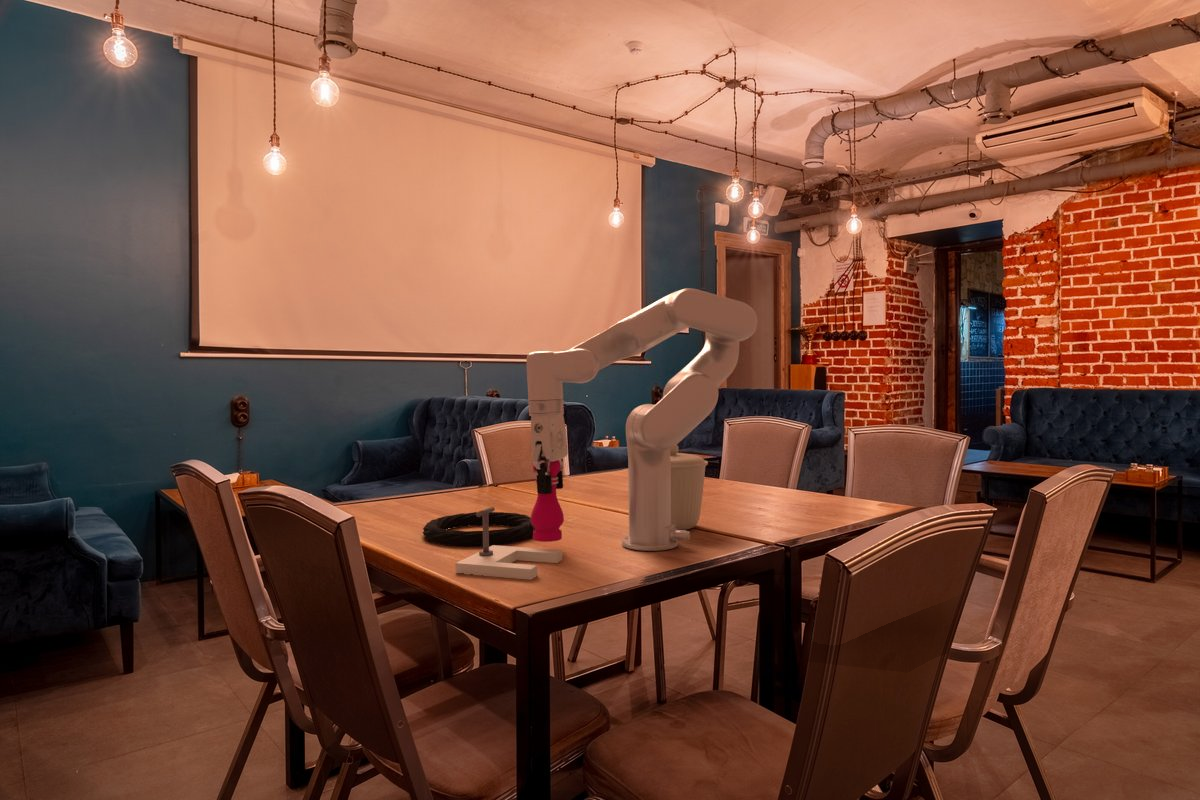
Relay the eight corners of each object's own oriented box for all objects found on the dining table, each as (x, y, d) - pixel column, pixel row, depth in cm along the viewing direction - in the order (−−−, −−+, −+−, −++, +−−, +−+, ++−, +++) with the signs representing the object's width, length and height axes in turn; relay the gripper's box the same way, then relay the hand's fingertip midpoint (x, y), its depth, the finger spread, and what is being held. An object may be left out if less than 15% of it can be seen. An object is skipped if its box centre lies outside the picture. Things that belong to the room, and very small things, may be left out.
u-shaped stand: (562, 559, 158) (561, 505, 158) (530, 579, 143) (530, 520, 143) (493, 554, 163) (492, 502, 163) (455, 573, 148) (454, 515, 148)
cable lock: (437, 510, 198) (552, 509, 197) (437, 525, 198) (552, 524, 197) (408, 532, 170) (542, 531, 170) (408, 549, 171) (542, 548, 170)
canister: (674, 517, 203) (673, 438, 202) (723, 528, 189) (723, 443, 188) (621, 525, 192) (620, 442, 192) (668, 538, 178) (668, 448, 177)
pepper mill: (527, 537, 168) (526, 446, 168) (559, 534, 170) (558, 445, 170) (534, 543, 161) (533, 449, 161) (567, 541, 163) (566, 448, 163)
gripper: (546, 410, 155) (551, 498, 156) (576, 405, 172) (580, 484, 172) (513, 411, 158) (518, 498, 159) (545, 406, 174) (549, 484, 175)
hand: (550, 490), depth 166 cm, fingers closed on pepper mill, 5 cm apart
